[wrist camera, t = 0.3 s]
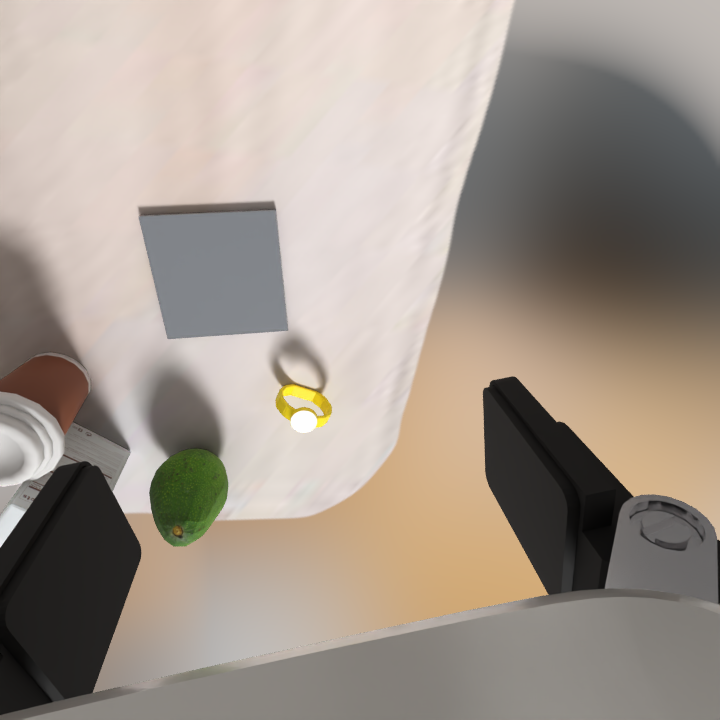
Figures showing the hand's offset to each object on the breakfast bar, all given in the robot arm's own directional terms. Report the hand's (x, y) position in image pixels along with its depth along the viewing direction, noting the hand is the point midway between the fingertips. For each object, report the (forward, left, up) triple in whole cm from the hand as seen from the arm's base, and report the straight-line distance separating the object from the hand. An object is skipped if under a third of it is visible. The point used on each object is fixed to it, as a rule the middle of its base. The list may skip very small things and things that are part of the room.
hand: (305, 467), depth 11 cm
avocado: (+28, -14, -36) cm, 48 cm away
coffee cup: (+16, -26, -36) cm, 47 cm away
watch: (+20, -1, -36) cm, 41 cm away
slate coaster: (+6, -8, -36) cm, 37 cm away
